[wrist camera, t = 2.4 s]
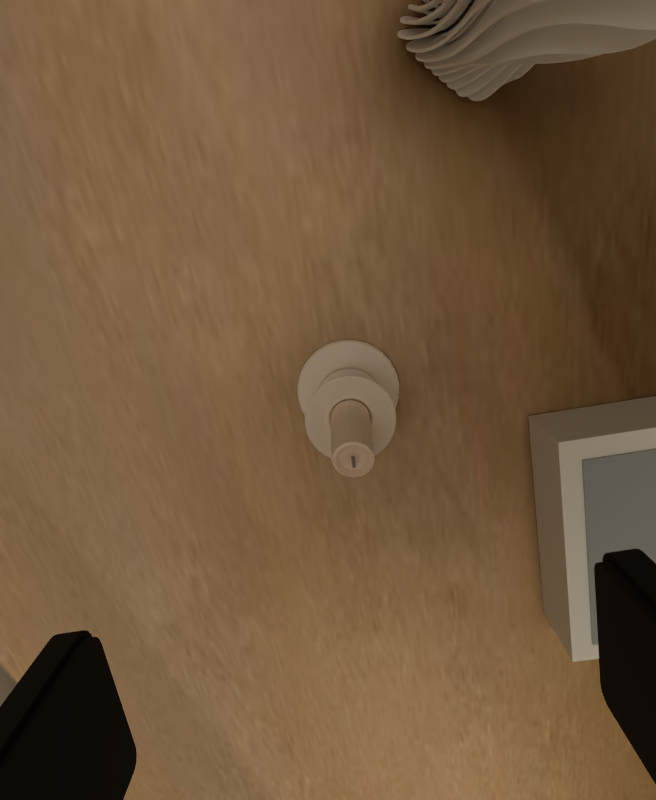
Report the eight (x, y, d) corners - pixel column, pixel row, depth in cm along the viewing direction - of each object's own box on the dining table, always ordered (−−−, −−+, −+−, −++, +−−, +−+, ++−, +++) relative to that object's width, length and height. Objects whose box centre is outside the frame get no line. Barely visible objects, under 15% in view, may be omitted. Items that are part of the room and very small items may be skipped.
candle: (389, 442, 29) (416, 546, 19) (291, 429, 29) (267, 526, 19) (406, 346, 27) (446, 403, 17) (304, 332, 27) (285, 380, 17)
